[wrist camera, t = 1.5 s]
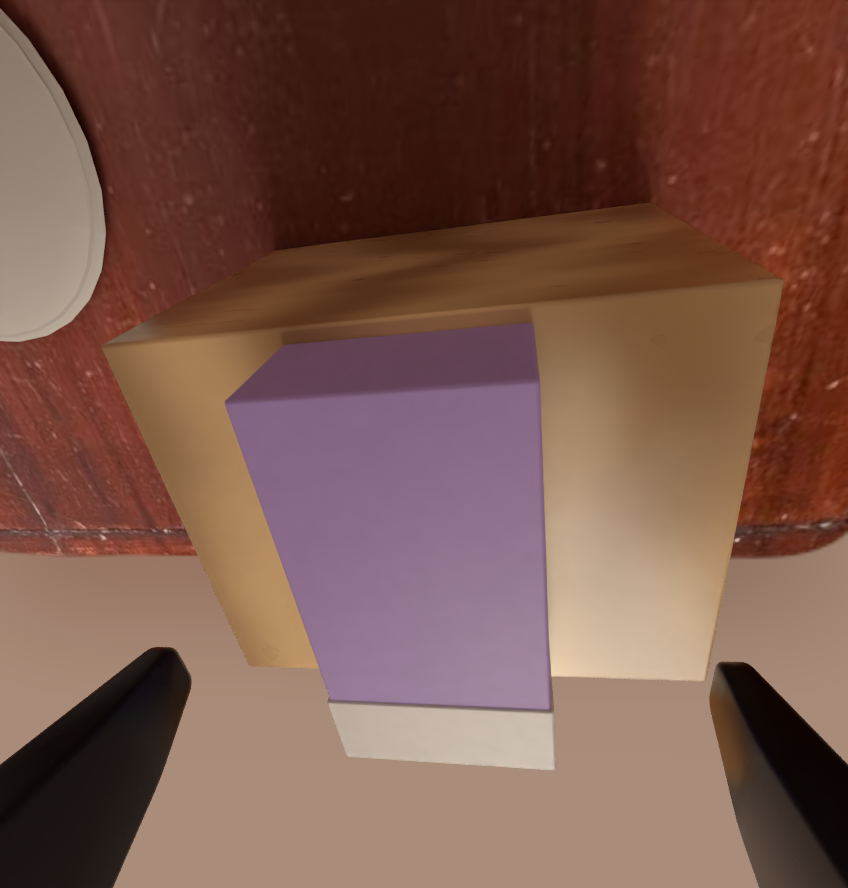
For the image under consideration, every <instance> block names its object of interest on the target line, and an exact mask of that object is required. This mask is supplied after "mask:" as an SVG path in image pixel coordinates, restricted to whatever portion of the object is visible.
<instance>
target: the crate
mask: <svg viewBox="0 0 848 888" xmlns="http://www.w3.org/2000/svg"><path fill="white" fill-rule="evenodd" d="M782 289H783V279H781V278H780V277H778V276H776V275H775V274H773V273H771V272H769V271H768V270H766V269H764V268H763V267H761V266H759V265H757V264H756V263H754V262H752V261H751V260H749V259H747V258H745V257H744V256H742V255H740V254H739V253H737V252H735V251H733V250H732V249H730V248H728V247H727V246H725V245H723V244H721V243H720V242H718V241H716V240H715V239H713V238H711V237H709V236H708V235H706V234H704V233H703V232H701V231H699V230H697V229H696V228H694V227H692V226H691V225H689V224H687V223H686V222H684V221H682V220H680V219H679V218H677V217H675V216H674V215H672V214H670V213H668V212H667V211H665V210H663V209H662V208H660V207H658V206H656V205H655V204H653V203H643V204H635V205H627V206H619V207H612V208H604V209H596V210H588V211H580V212H572V213H564V214H557V215H549V216H541V217H533V218H525V219H517V220H509V221H502V222H494V223H486V224H478V225H470V226H462V227H454V228H447V229H439V230H431V231H423V232H415V233H407V234H399V235H392V236H384V237H376V238H368V239H360V240H352V241H344V242H337V243H329V244H321V245H313V246H305V247H297V248H289V249H282V250H275V251H273V252H271V253H269V254H268V255H266V256H264V257H262V258H260V259H258V260H257V261H255V262H253V263H251V264H249V265H248V266H246V267H244V268H242V269H240V270H238V271H237V272H235V273H233V274H231V275H229V276H227V277H226V278H224V279H222V280H220V281H218V282H216V283H215V284H213V285H211V286H209V287H207V288H205V289H204V290H202V291H200V292H198V293H196V294H194V295H193V296H191V297H189V298H187V299H185V300H184V301H182V302H180V303H178V304H176V305H174V306H173V307H171V308H169V309H167V310H165V311H163V312H162V313H160V314H158V315H156V316H154V317H152V318H151V319H149V320H147V321H145V322H143V323H141V324H140V325H138V326H136V327H134V328H132V329H131V330H129V331H127V332H125V333H123V334H121V335H120V336H118V337H116V338H114V339H112V340H110V341H109V342H107V343H105V344H103V345H102V351H103V353H104V355H105V357H106V359H107V361H108V364H109V366H110V368H111V370H112V372H113V374H114V376H115V379H116V381H117V383H118V385H119V387H120V389H121V391H122V394H123V396H124V398H125V400H126V402H127V404H128V407H129V409H130V411H131V413H132V415H133V417H134V419H135V422H136V424H137V426H138V428H139V430H140V432H141V435H142V437H143V439H144V441H145V443H146V445H147V447H148V450H149V452H150V454H151V456H152V458H153V460H154V462H155V465H156V467H157V469H158V471H159V473H160V475H161V478H162V480H163V482H164V484H165V486H166V488H167V490H168V493H169V495H170V497H171V499H172V501H173V503H174V505H175V508H176V510H177V512H178V514H179V516H180V518H181V521H182V523H183V525H184V527H185V529H186V531H187V533H188V536H189V538H190V540H191V542H192V544H193V546H194V549H195V551H196V553H197V555H198V557H199V559H200V561H201V564H202V566H203V568H204V570H205V572H206V574H207V576H208V579H209V581H210V583H211V585H212V587H213V589H214V592H215V594H216V596H217V598H218V600H219V602H220V604H221V606H222V608H223V611H224V613H225V615H226V617H227V619H228V622H229V624H230V626H231V628H232V630H233V632H234V635H235V636H236V639H237V641H238V643H239V645H240V647H241V650H242V652H243V654H244V656H245V658H246V660H247V663H248V665H250V666H258V667H287V668H318V669H319V666H318V663H317V661H316V658H315V655H314V652H313V649H312V647H311V644H310V641H309V638H308V636H307V633H306V630H305V627H304V624H303V622H302V619H301V616H300V613H299V610H298V608H297V605H296V602H295V599H294V597H293V594H292V591H291V588H290V585H289V583H288V580H287V577H286V574H285V571H284V569H283V566H282V563H281V560H280V557H279V555H278V552H277V549H276V546H275V544H274V541H273V538H272V535H271V532H270V530H269V527H268V524H267V521H266V518H265V516H264V513H263V510H262V507H261V504H260V502H259V499H258V496H257V493H256V491H255V488H254V485H253V482H252V479H251V477H250V474H249V471H248V468H247V465H246V463H245V460H244V457H243V454H242V452H241V449H240V446H239V443H238V440H237V438H236V435H235V432H234V429H233V426H232V424H231V421H230V418H229V415H228V412H227V410H226V407H225V401H226V400H227V399H228V398H229V397H230V396H231V395H232V394H233V393H234V392H235V391H236V390H237V389H238V388H239V387H240V386H241V385H242V384H243V383H244V382H245V381H247V380H248V379H249V378H250V377H251V376H252V375H253V374H254V373H255V372H256V371H257V370H258V369H259V368H260V367H261V366H262V365H263V364H264V363H265V362H266V361H267V360H268V359H269V358H271V357H272V356H273V355H274V354H275V353H276V352H277V351H278V350H279V349H280V348H281V347H282V346H283V345H289V344H300V343H311V342H322V341H333V340H344V339H355V338H366V337H377V336H389V335H400V334H411V333H422V332H433V331H444V330H455V329H466V328H477V327H488V326H499V325H510V324H521V323H532V324H533V326H534V332H535V341H536V350H537V359H538V368H539V377H540V395H541V425H542V454H543V483H544V513H545V542H546V571H547V601H548V630H549V649H550V662H551V676H554V677H584V678H585V677H586V678H614V679H643V680H675V681H706V679H707V673H708V668H709V664H710V659H711V653H712V648H713V643H714V638H715V633H716V628H717V622H718V617H719V612H720V607H721V602H722V597H723V592H724V587H725V582H726V576H727V571H728V566H729V561H730V556H731V551H732V546H733V541H734V535H735V530H736V525H737V520H738V515H739V510H740V505H741V499H742V494H743V489H744V484H745V479H746V474H747V469H748V464H749V458H750V453H751V448H752V443H753V438H754V433H755V428H756V422H757V417H758V412H759V407H760V402H761V397H762V392H763V386H764V381H765V376H766V371H767V366H768V361H769V356H770V351H771V345H772V340H773V335H774V330H775V325H776V320H777V315H778V309H779V304H780V299H781V294H782Z"/></svg>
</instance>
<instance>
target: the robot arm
mask: <svg viewBox="0 0 848 888" xmlns="http://www.w3.org/2000/svg"><path fill="white" fill-rule="evenodd" d="M190 689H191V675H190V673H189V672H188V670H187V668H186V666H185V664H184V662H183V661H182V659H181V657H180V655H179V654H178V652H177V651H176V650H175V649H173V648H170V647H155V648H151V649H149V650H147V651H146V652H144V653H143V654H142V655H141V656H139V657H138V658H137V659H135V660H134V661H133V662H131V663H130V664H129V665H128V666H126V667H125V668H124V669H123V670H121V671H120V672H119V673H117V674H116V675H115V676H113V677H112V678H111V679H110V680H108V681H107V682H106V683H104V684H103V685H102V686H101V687H99V688H98V689H97V690H95V691H94V692H93V693H92V694H90V695H89V696H88V697H86V698H85V699H84V700H83V701H81V702H80V703H79V704H78V705H76V706H75V707H74V708H72V709H71V710H70V711H68V712H67V713H66V714H65V715H63V716H62V717H61V718H59V719H58V720H57V721H56V722H54V723H53V724H52V725H50V726H49V727H48V728H47V729H45V730H44V731H43V732H42V733H40V734H39V735H38V736H37V737H35V738H34V739H33V740H31V741H30V742H29V743H27V744H26V745H25V746H24V747H22V748H21V749H20V750H19V751H17V752H16V753H15V754H13V755H12V756H11V757H9V758H8V759H7V760H6V761H4V762H3V763H2V764H0V888H113V886H114V884H115V882H116V879H117V877H118V875H119V872H120V870H121V868H122V865H123V863H124V861H125V859H126V856H127V854H128V852H129V850H130V847H131V845H132V843H133V840H134V838H135V836H136V834H137V831H138V829H139V827H140V824H141V822H142V820H143V818H144V815H145V813H146V810H147V808H148V806H149V804H150V802H151V799H152V797H153V794H154V792H155V790H156V787H157V785H158V783H159V780H160V778H161V775H162V772H163V769H164V767H165V764H166V761H167V758H168V755H169V752H170V749H171V746H172V743H173V740H174V737H175V734H176V731H177V728H178V725H179V723H180V720H181V717H182V714H183V710H184V708H185V705H186V701H187V699H188V695H189V693H190ZM710 709H711V714H712V719H713V723H714V727H715V731H716V735H717V740H718V743H719V748H720V752H721V757H722V761H723V765H724V769H725V774H726V778H727V782H728V786H729V790H730V795H731V799H732V803H733V807H734V811H735V815H736V819H737V823H738V826H739V829H740V832H741V836H742V839H743V842H744V845H745V848H746V851H747V854H748V856H749V859H750V862H751V865H752V868H753V870H754V873H755V877H756V880H757V883H758V885H759V888H848V764H847V763H846V762H845V761H844V760H843V759H842V758H841V757H840V756H839V755H838V754H837V753H836V752H835V751H834V750H833V749H832V748H831V747H830V746H829V745H828V744H827V743H826V742H825V741H824V740H823V739H822V738H821V736H819V734H818V733H816V731H814V729H813V728H812V727H811V726H810V725H809V724H808V723H807V722H806V721H805V720H804V719H803V718H802V717H801V716H800V715H799V714H798V713H797V712H796V711H795V710H794V709H793V708H792V707H791V706H790V705H789V704H788V703H787V702H786V701H785V700H784V699H783V698H782V697H781V696H780V695H779V694H778V693H777V692H776V690H775V689H774V688H773V687H772V686H771V685H770V684H769V683H768V682H767V681H766V680H765V679H764V678H763V677H762V676H761V675H760V674H759V673H758V672H757V671H756V670H755V669H754V668H753V667H752V666H750V665H749V664H747V663H744V662H719V663H718V664H717V665H716V667H715V672H714V676H713V681H712V686H711V692H710Z"/></svg>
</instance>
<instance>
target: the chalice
mask: <svg viewBox="0 0 848 888" xmlns="http://www.w3.org/2000/svg"><path fill="white" fill-rule="evenodd" d="M105 238H106V228H105V218H104V209H103V200H102V190H101V187H100V183H99V180H98V177H97V173H96V170H95V166H94V163H93V159H92V156H91V153H90V149H89V146H88V142H87V140H86V138H85V136H84V134H83V132H82V130H81V127H80V125H79V123H78V121H77V119H76V117H75V115H74V113H73V111H72V109H71V106H70V104H69V102H68V100H67V98H66V96H65V94H64V92H63V90H62V88H61V87H60V85H59V84H58V82H57V81H56V79H55V78H54V76H53V75H52V73H51V72H50V70H49V69H48V67H47V66H46V64H45V63H44V61H43V60H42V58H41V57H40V56H39V54H38V53H37V51H36V50H35V48H34V47H33V45H32V44H31V42H30V41H29V39H28V38H27V37H26V36H25V35H24V34H23V33H22V32H21V30H20V29H19V28H18V27H17V26H16V25H15V24H14V23H13V22H12V21H11V20H10V18H9V17H8V16H7V15H6V14H5V13H4V12H3V11H2V10H1V9H0V341H16V342H21V341H25V340H30V339H34V338H39V337H43V336H48V335H50V334H51V333H53V332H55V331H56V330H58V329H60V328H61V327H63V326H65V325H66V324H68V323H70V322H71V321H72V320H73V319H74V318H75V317H76V315H77V314H78V313H79V312H80V311H81V310H82V308H83V307H84V306H85V305H86V304H87V302H88V301H89V300H90V298H91V296H92V293H93V291H94V288H95V286H96V283H97V281H98V278H99V276H100V273H101V271H102V264H103V255H104V247H105Z"/></svg>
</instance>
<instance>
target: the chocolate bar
mask: <svg viewBox="0 0 848 888" xmlns="http://www.w3.org/2000/svg"><path fill="white" fill-rule="evenodd" d="M225 407H226V410H227V412H228V415H229V418H230V421H231V424H232V426H233V429H234V432H235V435H236V438H237V440H238V443H239V446H240V449H241V452H242V454H243V457H244V460H245V463H246V465H247V468H248V471H249V474H250V477H251V479H252V482H253V485H254V488H255V491H256V493H257V496H258V499H259V502H260V504H261V507H262V510H263V513H264V516H265V518H266V521H267V524H268V527H269V530H270V532H271V535H272V538H273V541H274V544H275V546H276V549H277V552H278V555H279V557H280V560H281V563H282V566H283V569H284V571H285V574H286V577H287V580H288V583H289V585H290V588H291V591H292V594H293V597H294V599H295V602H296V605H297V608H298V610H299V613H300V616H301V619H302V622H303V624H304V627H305V630H306V633H307V636H308V638H309V641H310V644H311V647H312V649H313V652H314V655H315V658H316V661H317V663H318V666H319V669H320V672H321V675H322V677H323V680H324V683H325V685H326V689H327V691H328V694H329V699H328V705H329V708H330V710H331V713H332V716H333V719H334V722H335V724H336V727H337V730H338V733H339V735H340V738H341V741H342V744H343V746H344V749H345V752H346V754H347V756H350V757H363V758H378V759H394V760H408V761H424V762H438V763H453V764H468V765H484V766H498V767H499V766H500V767H514V768H529V769H544V770H555V768H556V760H555V727H554V706H553V690H552V676H551V662H550V649H549V630H548V601H547V571H546V542H545V513H544V483H543V454H542V425H541V395H540V377H539V368H538V359H537V350H536V341H535V332H534V326H533V324H532V323H521V324H510V325H499V326H488V327H477V328H466V329H455V330H444V331H433V332H422V333H411V334H400V335H389V336H377V337H366V338H355V339H344V340H333V341H322V342H311V343H300V344H289V345H283V346H282V347H281V348H280V349H279V350H278V351H277V352H276V353H275V354H274V355H273V356H272V357H271V358H269V359H268V360H267V361H266V362H265V363H264V364H263V365H262V366H261V367H260V368H259V369H258V370H257V371H256V372H255V373H254V374H253V375H252V376H251V377H250V378H249V379H248V380H247V381H245V382H244V383H243V384H242V385H241V386H240V387H239V388H238V389H237V390H236V391H235V392H234V393H233V394H232V395H231V396H230V397H229V398H228V399H227V400H226V401H225Z"/></svg>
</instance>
